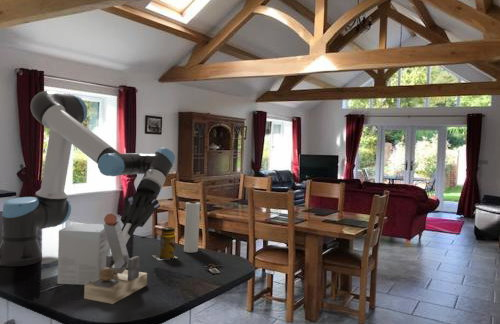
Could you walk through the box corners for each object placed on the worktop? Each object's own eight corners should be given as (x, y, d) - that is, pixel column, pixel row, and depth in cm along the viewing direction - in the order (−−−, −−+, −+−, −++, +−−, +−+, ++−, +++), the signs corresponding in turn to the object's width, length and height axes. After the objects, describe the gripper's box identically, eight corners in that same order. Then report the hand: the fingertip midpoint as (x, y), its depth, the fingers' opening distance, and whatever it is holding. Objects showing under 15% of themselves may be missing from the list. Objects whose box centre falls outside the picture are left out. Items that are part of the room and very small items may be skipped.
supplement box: (110, 273, 150) (111, 224, 150) (98, 285, 137) (99, 231, 137) (72, 271, 150) (73, 222, 149) (56, 284, 137) (57, 230, 136)
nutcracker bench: (120, 280, 143) (121, 249, 142) (146, 285, 140) (147, 253, 139) (84, 298, 126) (85, 263, 125) (112, 303, 123) (114, 267, 122)
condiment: (178, 258, 174) (179, 229, 173) (158, 260, 169) (159, 230, 168) (171, 254, 180) (172, 225, 179) (151, 256, 175) (152, 227, 175)
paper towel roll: (186, 253, 181) (188, 203, 180) (181, 250, 187) (183, 201, 186) (202, 252, 185) (204, 203, 184) (197, 248, 190) (199, 201, 189)
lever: (118, 261, 137) (104, 210, 129) (134, 263, 136) (121, 212, 127) (108, 272, 133) (93, 220, 125) (125, 274, 131) (110, 222, 123)
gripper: (130, 176, 148) (98, 234, 133) (164, 179, 144) (135, 238, 129) (138, 190, 153) (108, 246, 138) (171, 193, 149) (144, 251, 134)
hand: (121, 242), depth 133 cm, fingers closed
